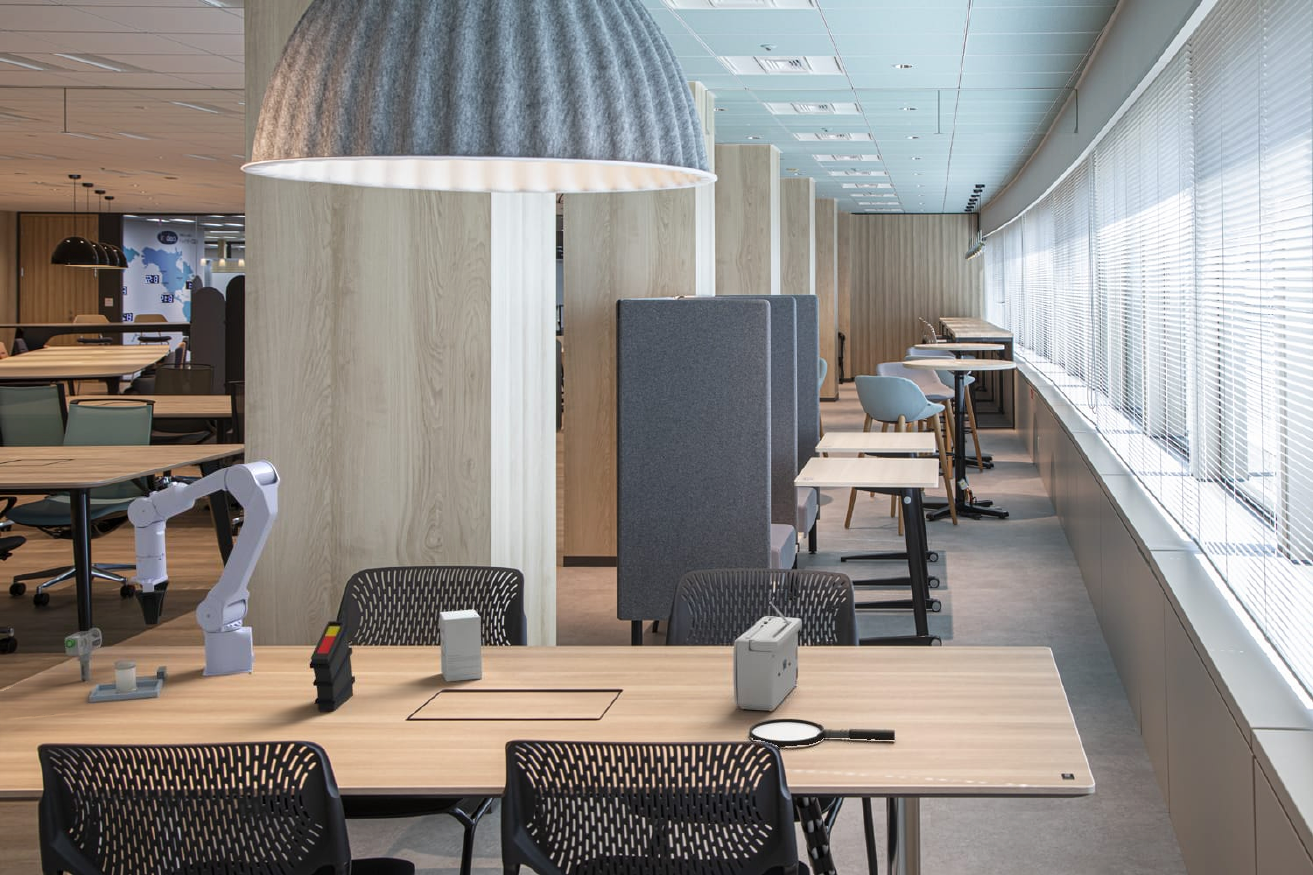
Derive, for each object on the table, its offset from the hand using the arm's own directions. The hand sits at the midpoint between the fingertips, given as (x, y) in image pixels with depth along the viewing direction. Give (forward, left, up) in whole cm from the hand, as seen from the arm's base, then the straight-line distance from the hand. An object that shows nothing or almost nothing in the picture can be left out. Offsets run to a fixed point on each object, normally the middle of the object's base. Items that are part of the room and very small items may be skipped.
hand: (153, 620), depth 265 cm
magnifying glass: (-113, +85, -11) cm, 142 cm away
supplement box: (-60, +27, -10) cm, 67 cm away
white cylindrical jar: (+3, +21, -9) cm, 23 cm away
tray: (+3, +21, -10) cm, 23 cm away
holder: (+1, +11, -10) cm, 15 cm away
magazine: (-35, +40, -10) cm, 54 cm away
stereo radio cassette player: (-113, +60, -10) cm, 128 cm away
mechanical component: (+12, +8, -10) cm, 18 cm away
